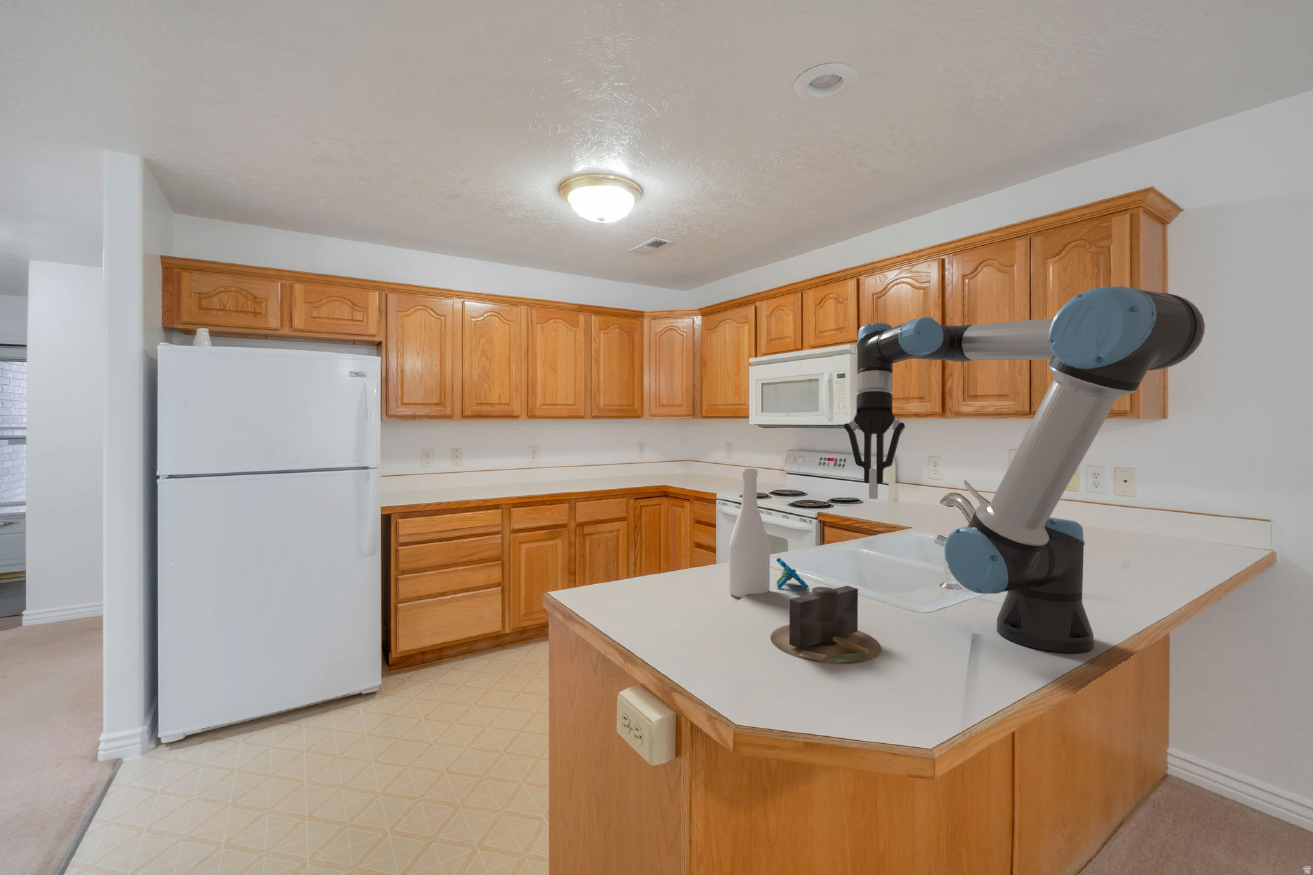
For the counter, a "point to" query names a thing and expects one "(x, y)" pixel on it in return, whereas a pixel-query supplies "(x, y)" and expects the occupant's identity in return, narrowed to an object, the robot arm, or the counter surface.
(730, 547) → the wine bottle
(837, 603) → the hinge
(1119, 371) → the robot arm
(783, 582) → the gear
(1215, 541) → the counter surface
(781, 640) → the dial
